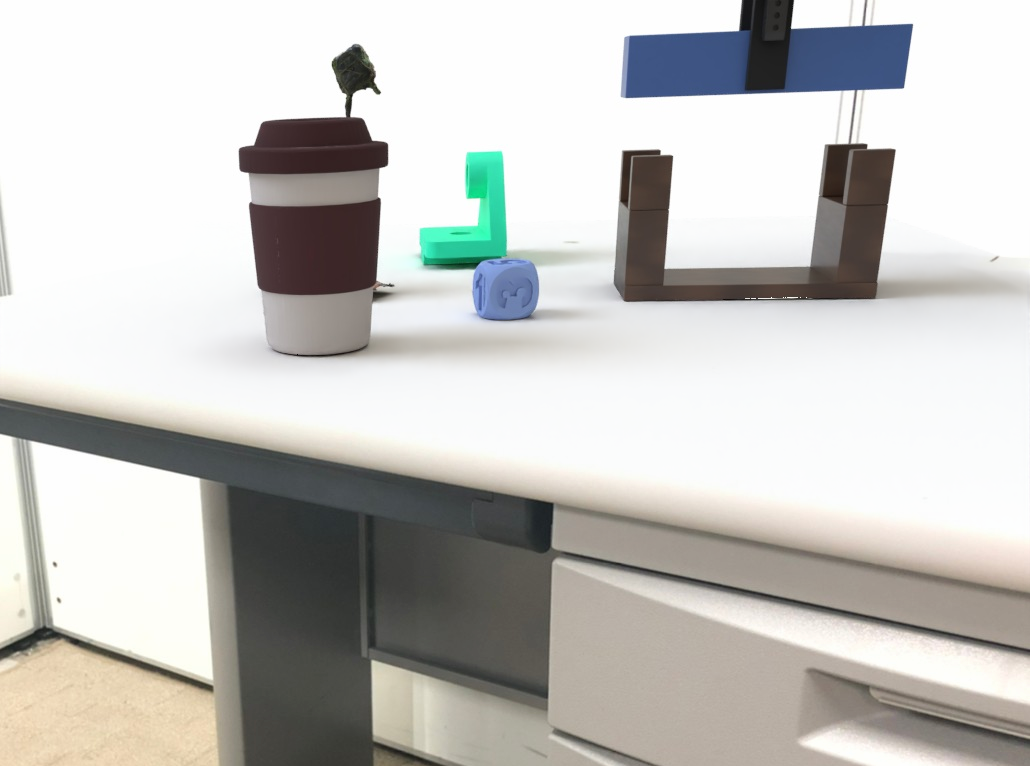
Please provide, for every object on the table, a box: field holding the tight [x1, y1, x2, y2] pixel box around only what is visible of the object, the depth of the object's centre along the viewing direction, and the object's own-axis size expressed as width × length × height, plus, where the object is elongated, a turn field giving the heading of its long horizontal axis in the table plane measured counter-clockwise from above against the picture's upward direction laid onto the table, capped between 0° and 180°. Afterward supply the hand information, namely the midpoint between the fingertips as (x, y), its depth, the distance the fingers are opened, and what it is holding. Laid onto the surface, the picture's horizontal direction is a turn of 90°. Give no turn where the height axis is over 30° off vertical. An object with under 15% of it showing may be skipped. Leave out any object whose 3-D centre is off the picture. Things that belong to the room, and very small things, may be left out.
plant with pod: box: [331, 43, 395, 292], centre depth 100 cm, size 8×11×20 cm
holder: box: [613, 142, 897, 302], centre depth 96 cm, size 19×9×11 cm, turn 81°
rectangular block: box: [620, 23, 914, 99], centre depth 90 cm, size 20×4×4 cm, turn 82°
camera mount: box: [419, 150, 508, 266], centre depth 118 cm, size 12×8×10 cm, turn 178°
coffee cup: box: [238, 116, 389, 356], centre depth 81 cm, size 10×10×15 cm
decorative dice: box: [472, 258, 540, 321], centre depth 91 cm, size 4×4×4 cm
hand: (758, 88), depth 91 cm, fingers closed on rectangular block, 4 cm apart
